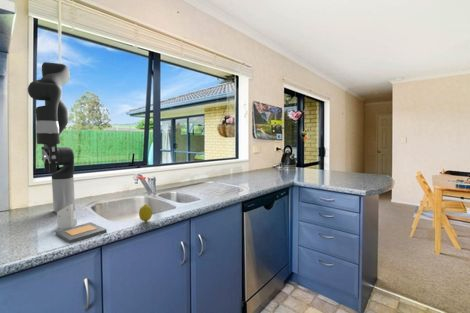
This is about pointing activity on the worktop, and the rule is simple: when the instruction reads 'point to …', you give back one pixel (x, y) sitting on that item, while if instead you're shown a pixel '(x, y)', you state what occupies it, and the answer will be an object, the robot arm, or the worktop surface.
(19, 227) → the worktop surface
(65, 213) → the white wedge bracket
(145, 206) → the lemon
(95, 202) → the worktop surface
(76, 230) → the mounting plate
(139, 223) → the worktop surface
